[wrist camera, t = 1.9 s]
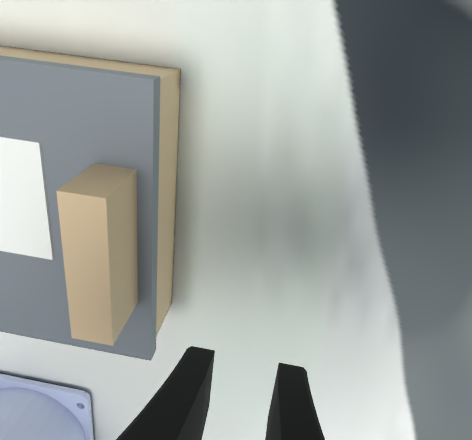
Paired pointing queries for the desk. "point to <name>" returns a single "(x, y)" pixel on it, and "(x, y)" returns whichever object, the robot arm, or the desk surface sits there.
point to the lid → (79, 205)
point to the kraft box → (166, 154)
